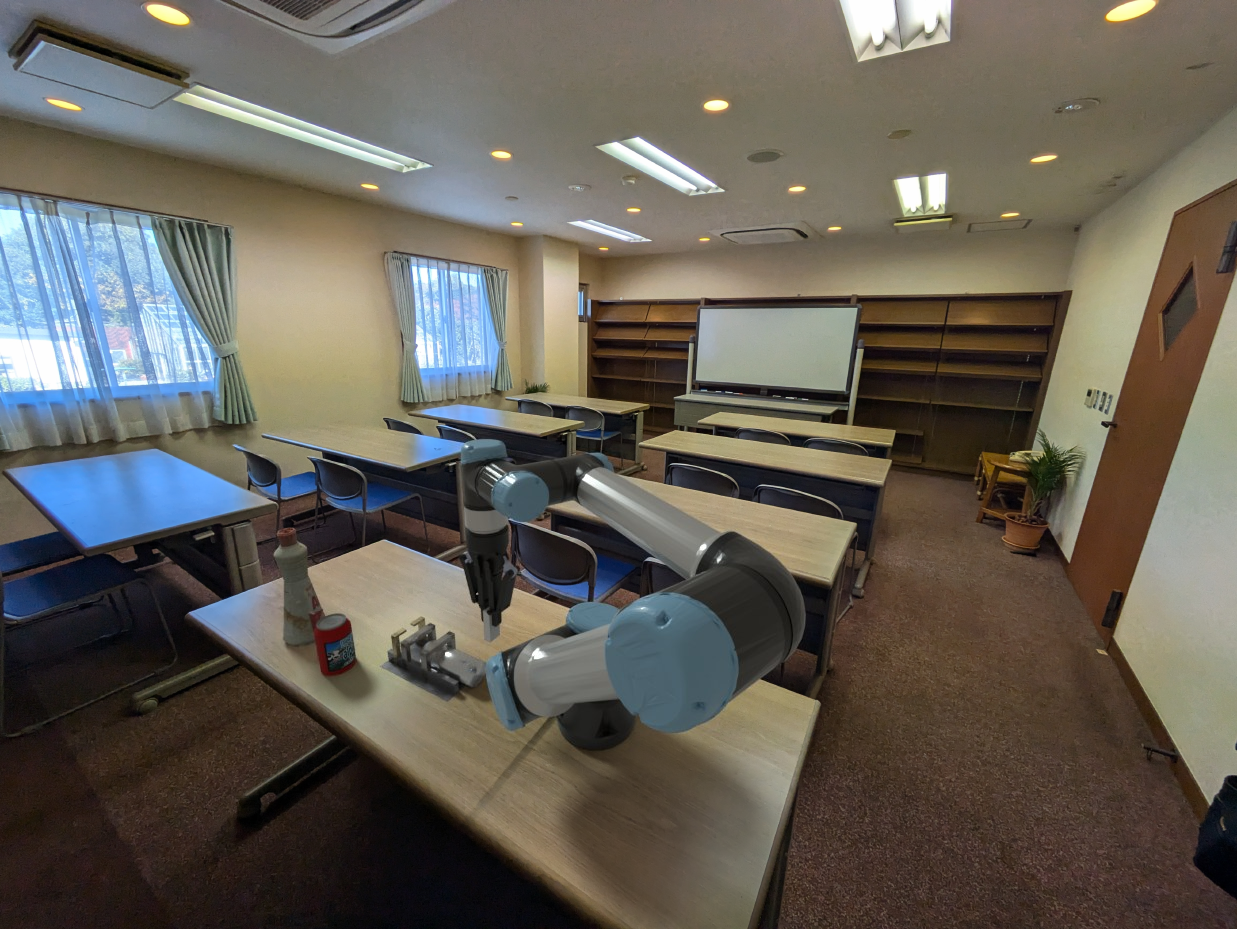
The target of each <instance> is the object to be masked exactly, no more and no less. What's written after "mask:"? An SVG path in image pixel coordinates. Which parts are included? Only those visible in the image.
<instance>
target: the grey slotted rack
mask: <svg viewBox="0 0 1237 929" xmlns="http://www.w3.org/2000/svg"><path fill="white" fill-rule="evenodd" d="M410 626H412V627H414V628H415V627H416V626H417V627H418V630H416V631H415V632H414V633H412V634H411V635H409V636H408V637H406V638H405V639H402V641H400V636H402V635H404V634H405V633H406V632H407V629H406V628H404V627H402V628H400V629H399V630H397V631H395V632H394V633H392V634H391V635H390V638H391V647H392V648H390V649H389V650H387V651H386V652H387V661H386V662H384V663H383V664H381V665H379V667H381V668H383V669H384V670H386V671H388V672H390V673H392V674H394V675H395V676H397V677H399V678H401V679H403V680H405V681H407V682H409V683H411V684H413V685H414V686H416V687H419V688H420V689H422V690H424V691H426V692H428V693H430V694H432V695H434V696H436V697H438V698H439V699H441V700H444V702H448V701H450V700H451V699H452V698H454V696H456V695H457V694H458V693H459V692H460V691H461V690H463V689H464V688H465V687H466V686H467V685H466V684H464V683H462V682H460V681H458V680H456V679H454V678H452V677H450V676H448V675H446V674H444V673H442V672H440V671H438V670H436V669H434V668H432V667H431V661H430V655H431V654H433V653H434V652H436V651H437V650H438V649H440V648H441V647H442V646H444V645H447V646H449V647H451V648H453V649H456V650H458V651H460V650H459V649H457V644H456V643H457V642H456V633H455V632H453V631H451V630H449V631H447V632H446V633H444V634H443V635H442V636H441V637H439V638H438V639H437V632H436V631H437V630H436V624H434V623H432V622H429V623H427V624H426V618H425V617H424V616H419V617H418V618H416V619H414V620H413V621H411V622H410ZM431 640H436V641H435V642H433V643H432V644H430V645H429V646H428V647H426V648H425V649H423V650H422V648H423V647H424V645H425V644H426V643H428V642H429V641H431ZM421 650H422V651H421ZM460 652H462V653H464V654H467V653H466V652H463V651H460ZM420 655H421V661H420ZM467 655H469V656H471V657H473V658H475V659H478V660H480V659H479V658H476V657H474V656H472V655H470V654H467ZM480 661H482V662H484V661H483V660H480ZM484 663H485V664H486V663H487V662H484Z"/></svg>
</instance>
